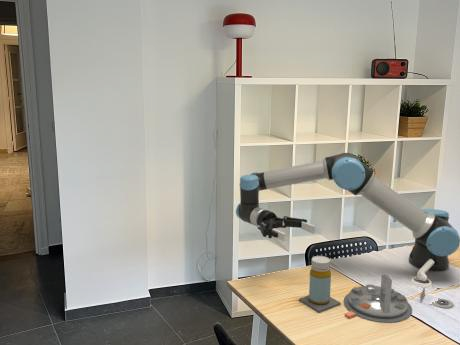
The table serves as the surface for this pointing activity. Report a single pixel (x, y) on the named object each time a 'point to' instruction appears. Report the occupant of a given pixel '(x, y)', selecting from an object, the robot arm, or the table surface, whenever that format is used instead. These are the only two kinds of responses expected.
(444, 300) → the bracket
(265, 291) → the table surface
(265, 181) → the robot arm
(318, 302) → the bottle
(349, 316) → the pointer
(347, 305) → the plate
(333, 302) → the pad
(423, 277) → the hook
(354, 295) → the round flange disc
